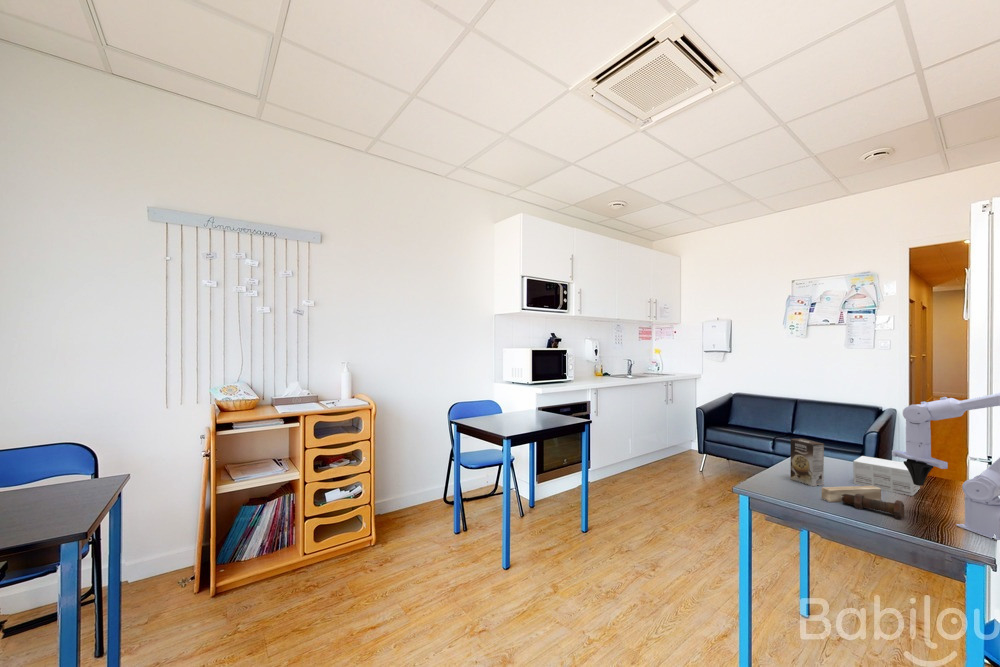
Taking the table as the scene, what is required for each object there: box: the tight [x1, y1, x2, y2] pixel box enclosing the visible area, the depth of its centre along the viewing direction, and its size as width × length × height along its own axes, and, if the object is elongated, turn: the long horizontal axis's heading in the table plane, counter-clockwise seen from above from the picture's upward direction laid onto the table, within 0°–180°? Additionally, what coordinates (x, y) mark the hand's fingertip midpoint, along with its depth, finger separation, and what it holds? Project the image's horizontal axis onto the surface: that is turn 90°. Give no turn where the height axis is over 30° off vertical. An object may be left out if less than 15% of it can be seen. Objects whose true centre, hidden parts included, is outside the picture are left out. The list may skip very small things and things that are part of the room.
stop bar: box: [821, 485, 882, 503], centre depth 147 cm, size 3×20×4 cm, turn 97°
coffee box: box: [790, 438, 825, 487], centre depth 166 cm, size 9×6×16 cm
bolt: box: [842, 494, 905, 520], centre depth 138 cm, size 6×5×15 cm
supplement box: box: [852, 455, 921, 497], centre depth 161 cm, size 17×13×9 cm
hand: (918, 484), depth 135 cm, fingers closed
